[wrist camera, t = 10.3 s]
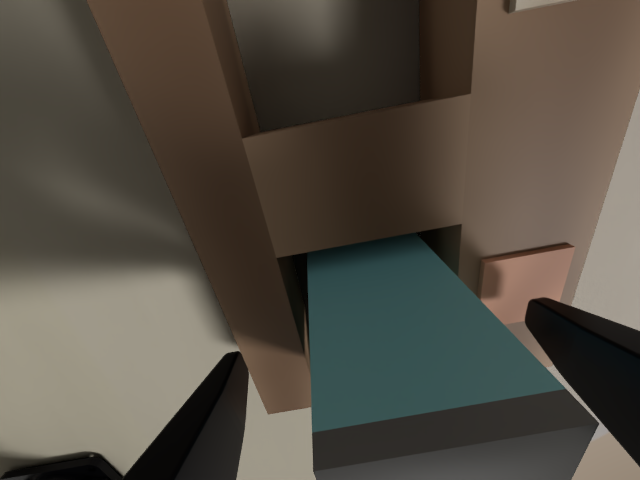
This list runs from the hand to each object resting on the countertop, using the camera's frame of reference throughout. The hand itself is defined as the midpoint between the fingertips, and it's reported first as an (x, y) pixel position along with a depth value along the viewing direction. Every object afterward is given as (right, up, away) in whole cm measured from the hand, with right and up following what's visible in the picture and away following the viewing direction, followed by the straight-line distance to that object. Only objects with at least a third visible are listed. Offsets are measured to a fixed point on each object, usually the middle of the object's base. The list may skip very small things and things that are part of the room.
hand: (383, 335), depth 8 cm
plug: (0, +2, +4) cm, 4 cm away
